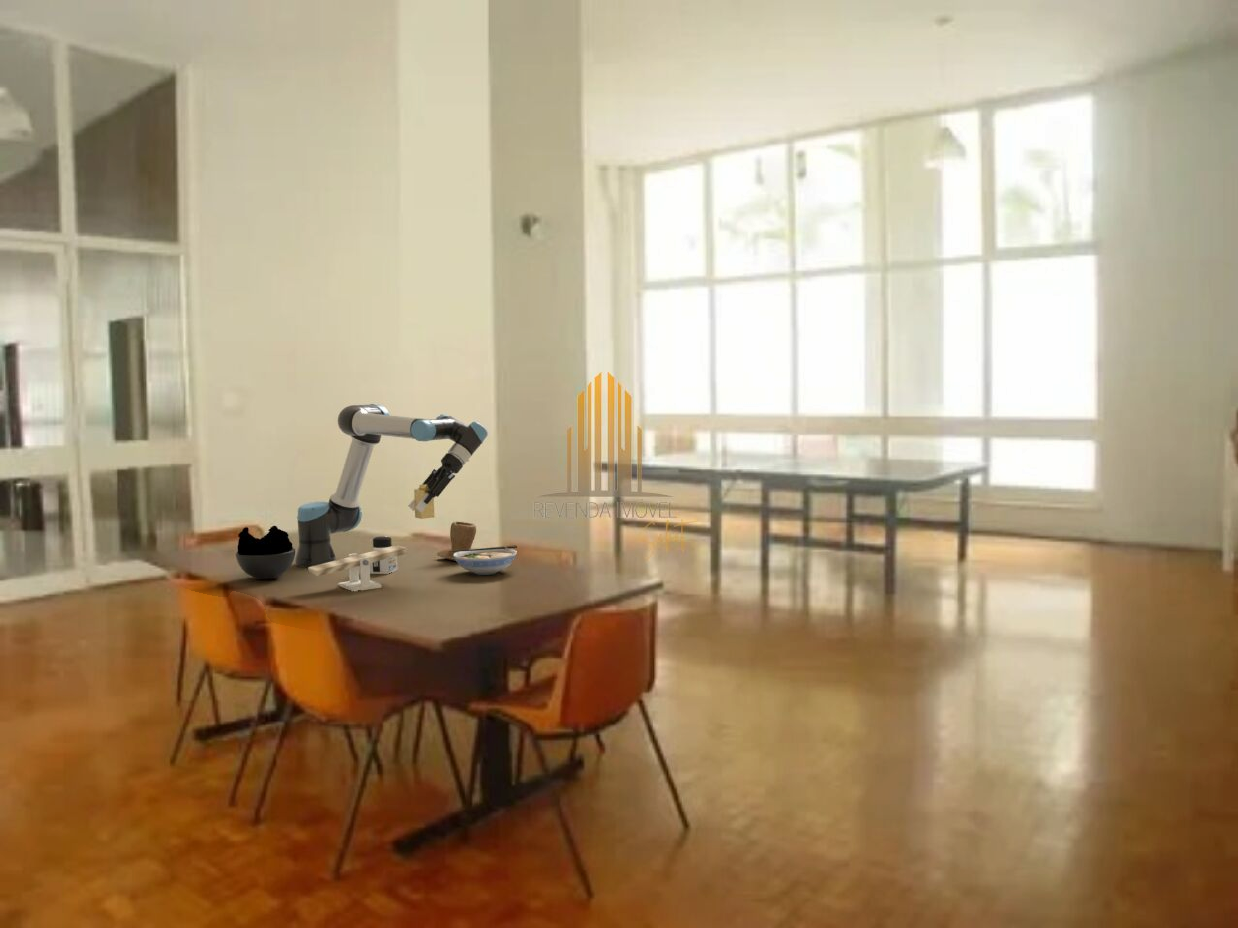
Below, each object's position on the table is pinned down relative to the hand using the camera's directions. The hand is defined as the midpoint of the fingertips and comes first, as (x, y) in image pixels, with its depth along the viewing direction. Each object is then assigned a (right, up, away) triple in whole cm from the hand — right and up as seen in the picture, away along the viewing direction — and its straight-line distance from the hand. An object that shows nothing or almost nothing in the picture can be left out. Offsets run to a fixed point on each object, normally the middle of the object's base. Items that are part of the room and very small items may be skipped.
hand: (414, 509), depth 348 cm
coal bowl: (-54, -25, +7) cm, 60 cm away
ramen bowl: (+24, -24, +10) cm, 35 cm away
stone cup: (+9, -22, +39) cm, 46 cm away
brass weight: (+3, -3, +2) cm, 5 cm away
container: (-15, -24, +16) cm, 32 cm away
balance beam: (-17, -17, -11) cm, 26 cm away
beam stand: (-17, -26, -10) cm, 32 cm away
